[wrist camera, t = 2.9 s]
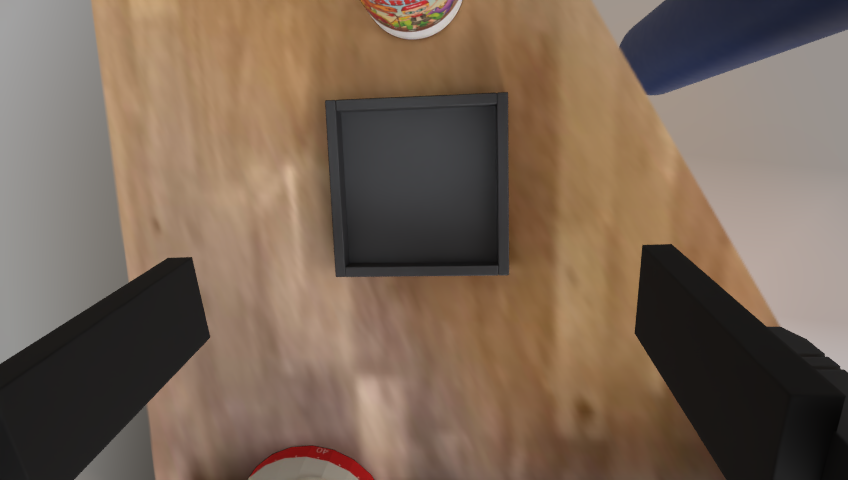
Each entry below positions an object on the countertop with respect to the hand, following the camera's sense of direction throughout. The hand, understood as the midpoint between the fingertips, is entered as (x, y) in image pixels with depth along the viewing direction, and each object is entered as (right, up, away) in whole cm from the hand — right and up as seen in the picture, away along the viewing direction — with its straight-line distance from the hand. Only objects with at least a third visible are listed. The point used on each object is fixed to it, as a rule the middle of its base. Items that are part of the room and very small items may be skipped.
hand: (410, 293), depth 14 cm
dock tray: (0, +6, +25) cm, 26 cm away
